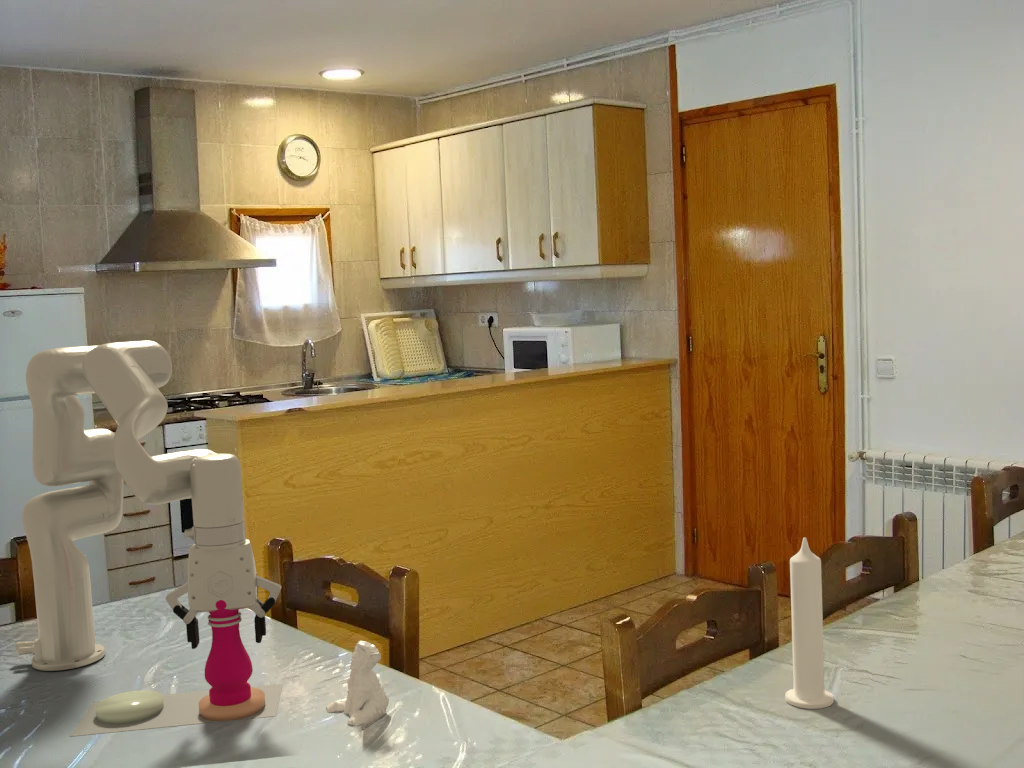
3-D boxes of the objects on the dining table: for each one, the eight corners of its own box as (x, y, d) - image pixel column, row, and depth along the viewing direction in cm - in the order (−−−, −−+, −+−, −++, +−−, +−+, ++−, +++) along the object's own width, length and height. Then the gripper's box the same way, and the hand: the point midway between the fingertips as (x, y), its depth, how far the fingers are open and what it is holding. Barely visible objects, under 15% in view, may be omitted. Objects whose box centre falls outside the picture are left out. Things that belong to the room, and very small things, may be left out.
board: (70, 744, 157) (69, 736, 157) (94, 708, 171) (93, 701, 171) (276, 723, 161) (275, 715, 161) (283, 690, 175) (282, 683, 175)
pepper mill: (241, 708, 161) (231, 579, 159) (197, 706, 162) (188, 578, 161) (262, 690, 168) (253, 566, 166) (220, 689, 169) (211, 566, 168)
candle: (834, 693, 162) (830, 532, 160) (832, 711, 155) (828, 543, 153) (787, 690, 164) (782, 531, 162) (783, 707, 158) (778, 542, 156)
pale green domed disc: (88, 727, 160) (88, 717, 160) (104, 702, 170) (104, 693, 170) (157, 720, 161) (156, 710, 161) (169, 696, 171) (168, 687, 171)
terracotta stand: (194, 724, 159) (193, 714, 159) (204, 699, 169) (203, 690, 169) (262, 717, 161) (261, 707, 160) (268, 693, 170) (267, 684, 170)
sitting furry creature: (322, 717, 163) (317, 641, 162) (371, 702, 168) (366, 628, 167) (352, 735, 155) (347, 655, 154) (402, 719, 161) (398, 641, 160)
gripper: (157, 544, 158) (165, 656, 159) (275, 535, 160) (282, 645, 162) (166, 533, 165) (174, 640, 167) (279, 525, 168) (286, 631, 169)
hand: (227, 643), depth 164 cm, fingers open, 9 cm apart
